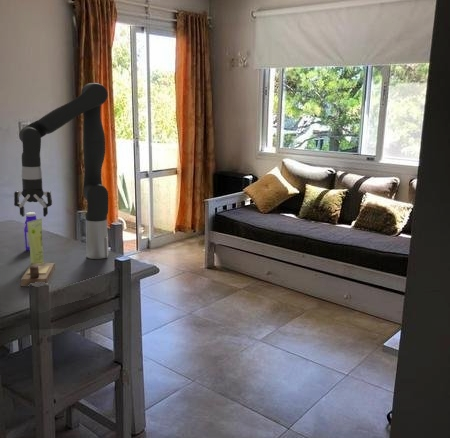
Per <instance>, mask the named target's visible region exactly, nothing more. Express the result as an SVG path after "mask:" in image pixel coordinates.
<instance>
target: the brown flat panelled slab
mask: <svg viewBox="0 0 450 438" xmlns="http://www.w3.org/2000/svg"><path fill="white" fill-rule="evenodd" d="M55 271H56V263H55V262H43V263H31V262H30V265H29V266H28V268H27V269H26V271H24V272H25V273H24V274H23V275H22V277H21V279H20V285H21V286H28V285H29V284H30V283H35V282H45V283H48V284H49V282H50V281H51V279H52V276H53V275H54V272H55Z"/></svg>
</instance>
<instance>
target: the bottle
mask: <svg viewBox="0 0 450 438" xmlns="http://www.w3.org/2000/svg"><path fill="white" fill-rule="evenodd" d="M25 215H26V217H25V221H24V224H25V225H24V229H23V230H24V231H23V233H24V241H25V242H24V244H25V247H24V248H25V250H26V251H28V252H30V245H29V235H28V227H27V222H30V221H33V220H37V219H38V218H37V214H36V212H34V211H29V212H26V213H25Z"/></svg>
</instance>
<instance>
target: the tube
mask: <svg viewBox="0 0 450 438" xmlns="http://www.w3.org/2000/svg"><path fill="white" fill-rule="evenodd" d="M36 219H37V220H33V221H30V222H27V227H28V235H29V245H30V251H29V255H30V264H31V263H44V250H43V249H44V248H43V218H42V217H41V218H36Z"/></svg>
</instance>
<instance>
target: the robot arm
mask: <svg viewBox="0 0 450 438" xmlns="http://www.w3.org/2000/svg"><path fill="white" fill-rule="evenodd" d="M108 97H109V94H108V90H107V88H106V87H105V86H104V85H103V84H100V83H98V82H89V83H86V84H85V85H84V86H83V87H82V88H81V93H80V95H78V96H77V97H76V98H74V99H72V100H71V101H68V103H65V104H63V105H60V106H59V107H57V108H55V109H53V110H51V111H50V112H48V113H47V114H45V115H44V116H42V117H40V118H39V119H38V120H35V121H33V122H31V123H29V124H27V125H26V126H24V127H23V128H21V129H20V131H19V135H18V137H19V140H20V141H21V142H22V153H21V182H22V191H19V190H16V191H14V193H13V194H14V195H13V198H14V204H13V205H14V207H18V208H19V215H20V216H21V217H25V215H26V213H25V205H26V203H27V202H28V203H39V204H40V205H41V206H42V207H43V208H42V210H43V212H42V213H43V217H47V215H48V212H49V211H48V208H49V207H51V206H52V205H53V201H52V191H50V190H48V191H44V190H43V172H42V166H41V146H42V138H43V137H45V136H46V135H49V134H51V133H55V131H57V130H58V129H60V128H62V127H63V126H65V125H66V124H67V123H69V122H71V121H72V120H74V119H75V118H77V117H78V116H80V115H82V114H83V115H82V116H83V122H82V126H83V127H82V133H83V134H82V137H83V138H82V145H83V146H82V151H83V166H84V168H83V169H84V177H83V187H82V194H83V198H84V199H85V200H86V202H87V203H86V205H87V206H86V207H87V209H86V210H87V211H86V212H85V215H84V216H85V242H86V244H85V245H86V258H88V259H92V260H101V259H107V258H109V235H108V214H109V192H108V189H107V187H105V186H104V185H103V184H102V182H103V181H102V167H103V164H104V161H105V157H106V136H105V135H106V134H105V130H104V127H103V123H102V117H101V115H102V114H101V108H102V107H101V106H102V105H103V104H105V103H106V102H107V99H108ZM21 196H22V197H23V198H24V199H22V201H21V203H20V197H21ZM43 196H45V198H46V199H47V202H46V201H45V199H43Z"/></svg>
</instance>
